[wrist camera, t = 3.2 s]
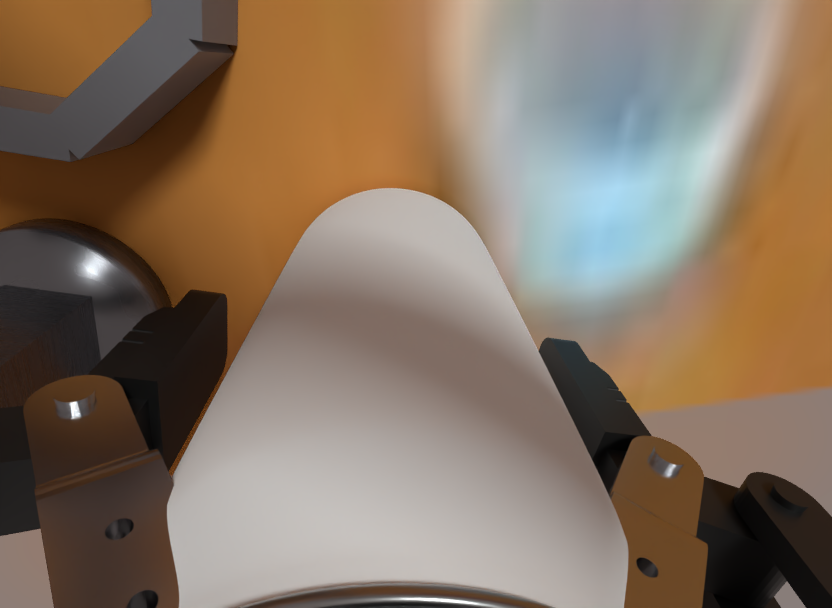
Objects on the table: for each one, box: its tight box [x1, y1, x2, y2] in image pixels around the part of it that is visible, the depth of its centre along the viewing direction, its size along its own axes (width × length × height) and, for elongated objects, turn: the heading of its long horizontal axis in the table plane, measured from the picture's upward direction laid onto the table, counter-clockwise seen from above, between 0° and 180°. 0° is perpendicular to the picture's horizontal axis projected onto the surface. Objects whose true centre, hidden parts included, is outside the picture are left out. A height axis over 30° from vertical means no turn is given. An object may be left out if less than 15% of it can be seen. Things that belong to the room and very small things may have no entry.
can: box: [167, 188, 628, 608], centre depth 10 cm, size 6×6×12 cm
